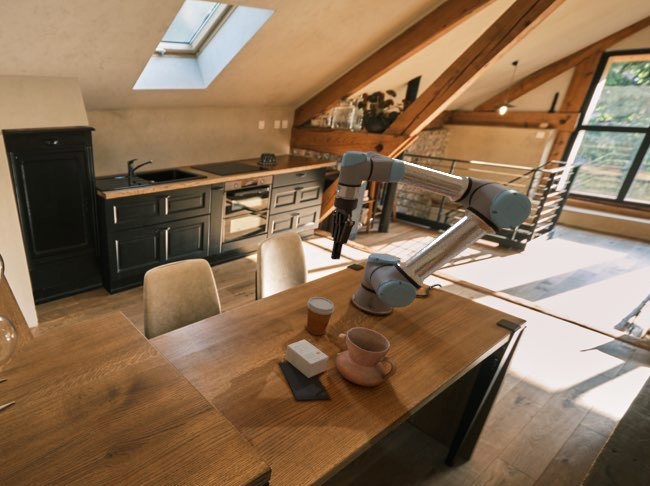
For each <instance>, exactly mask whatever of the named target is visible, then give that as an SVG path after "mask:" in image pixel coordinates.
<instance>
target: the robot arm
mask: <svg viewBox="0 0 650 486" xmlns="http://www.w3.org/2000/svg"><path fill="white" fill-rule="evenodd" d="M363 182H377V183H378V182H380V183H388V184H390V183H400V184H402V185H406V186H409V187H413V188H416V189H419V190H422V191H427V192H430V193H434V194H437V195H439V196H443V197H446V198H448V200H449V201H450V202H453V203H455V204H456V203H457V204H459V205H461V206H462V207H465V209H464V216H463V217H461V218H460V219H458V220H457V221H456V222H455V223H454V224H452V225H451V226H450V227H448V228H447V229H446V230H445V231H443V232H442V233H440V235H438V236H437V237H436V238H434V239H433V240H431V241H430V242H429V243H428V244H426V245H425V246H424V247H423V248H421V249H420V250H419V251H417V252H416V253H414V254H413V255H411V257H410V258H408V259H407V260H405V261H404V262H402V261H401V259H400V258H399V257H397V256H394V255H391V254H386V253H371V254H369V255H368V257H367V260H366V261H365V267H364V271H363V276H362V278H361V283H360V286H359V287H358V289H357V291H356V292H355V293H353V295H352V296H351V297H352V300H351V303H352V304H353V306H354V307H355V308H356V309H358V310H359V311H362V312H364V313H366V314H370V315H374V316H388V315H390V314H391V313H392V312H393V308H404V307H407V306H409V305H411V304H412V303H413V302H414V301H415V300H416V298H417V297H418V298H420V297H421V298H422V297H423V298H424V297H429V295H430V289H433V288H435V287H439V288H443V285H441V284H440V283H436V284H432V285H430V286H428V287H427V289H426V294H418V292H417V291H419V290H420V289H421V288H423V287H424V281H425V280H426V279H427V278H429V277H430V276H432V275H433V274H434V273H436V272H437V271H438V270H440V269H441V268H443V267H444V266H445V265H446V264H448V263H449V262H451V261H452V260H453V259H455V258H456V257H457V256H459V255H461V254H462V253H463V252H464V251H466V250H467V249H468V248H470V247H471V246H472V245H473V244H475V243H476V242H477V241H479V240H480V239H482V238H483V237H485V236H486V235H496V234H497V233H498V232H500V231H501V230H502V229H505V230H506V229H507V230H508V229H515V228H518V227H519V226H521V225H523V224H524V223H525V222H526V221H527V220H528V219H529V217H530V215H531V213H532V206H533V205H532V202H531V200H530V198H529V197H528V196H527V195H526V194H525V193H523V192H521V191H520V190H519V189H515V188H512V187H509V186H506V185H505V184H502V183H499V182H496V181H492V180H487V179H480V178H476V177H471V176H467V175H459V176H457V175H453V174H451V173H450V174H449V173H446V172H443V171H439V170H436V169H433V168H429V167H425V166H422V165H419V164H415V163H411V162H409V161H405V160H403V159H398V158H395V157H390V156H388V155H385V154H381V153H379V152H377V151H367V152H365V151H360V150H359V151H358V150H348V151H345V152H344V153H343V154H342V158H341V163H340V169H339V174H338V181H337V186H336V188H335V195H336V196H335V197H334V202H333V207H334V208H336V209H335V210H332V211H331V215H332V219H331V233H330V234H331V235H330V237H331V238H332V241H333V244H332V249H331V255H330V259H332V260H341V256H342V250H343V245H346V244H348V242H349V239H350V236H351V233H352V231H353V227H354V226H355V225H356V221H355V220H353V219H352V218H353V211H355V210H356V209H358V204H359V198H360V195H361V190H362V185H363V184H362V183H363ZM430 287H431V288H430Z"/></svg>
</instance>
